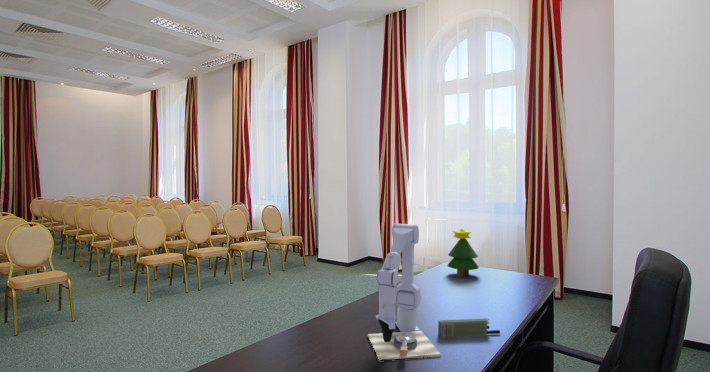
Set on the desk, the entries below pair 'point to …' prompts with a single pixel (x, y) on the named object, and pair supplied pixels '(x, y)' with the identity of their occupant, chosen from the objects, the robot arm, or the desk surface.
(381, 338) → the board
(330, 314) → the desk surface
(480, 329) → the handheld radio
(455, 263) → the decorative tree
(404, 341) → the frying pan
